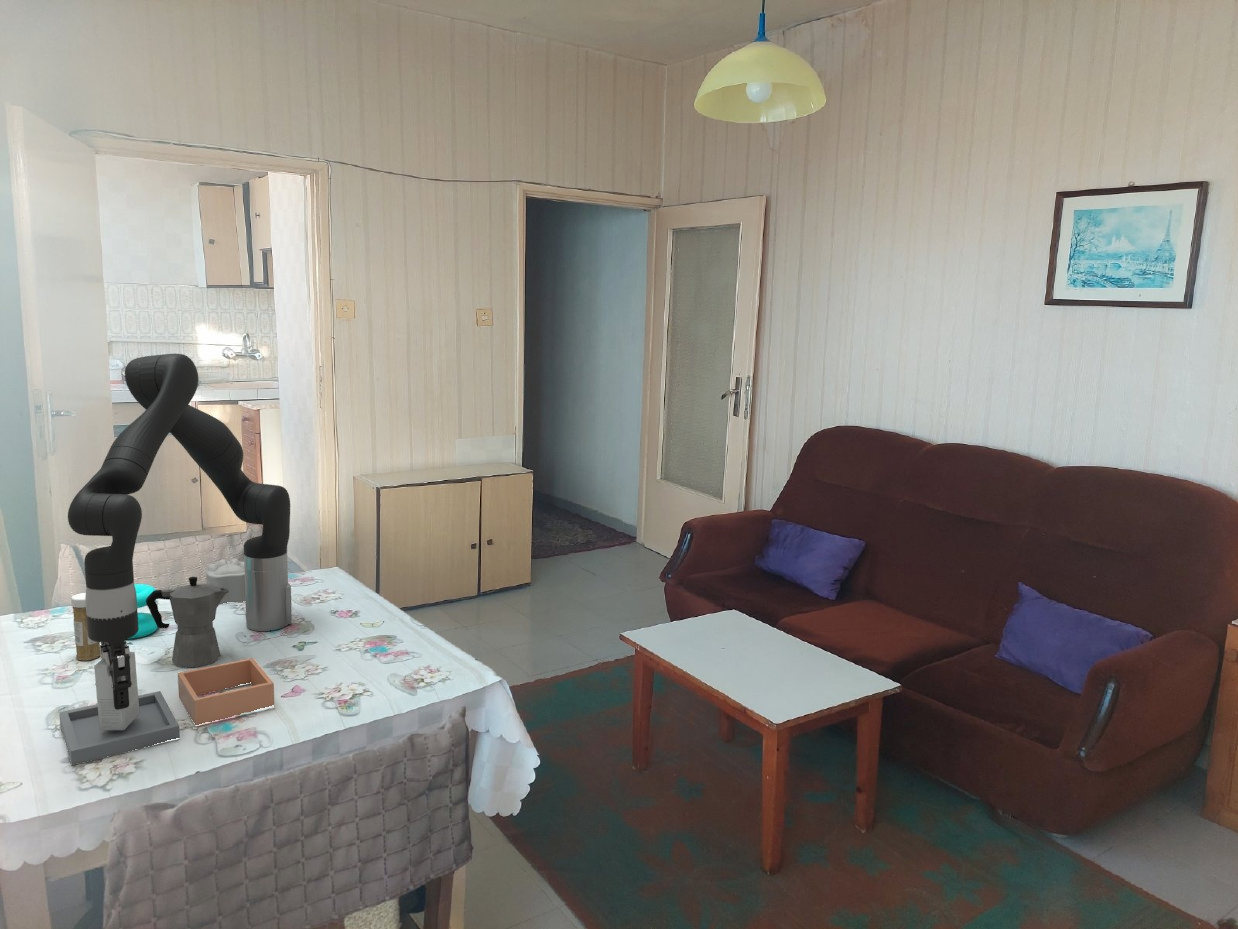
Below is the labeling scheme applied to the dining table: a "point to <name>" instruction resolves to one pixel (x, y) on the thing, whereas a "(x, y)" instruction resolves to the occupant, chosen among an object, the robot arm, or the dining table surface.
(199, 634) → the coffeepot
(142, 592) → the donuts
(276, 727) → the dining table surface
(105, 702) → the skincare box
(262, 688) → the orange square frame
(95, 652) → the sprinkles bottle
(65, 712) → the grey tray
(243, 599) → the lumpy-topped squat cylinder
